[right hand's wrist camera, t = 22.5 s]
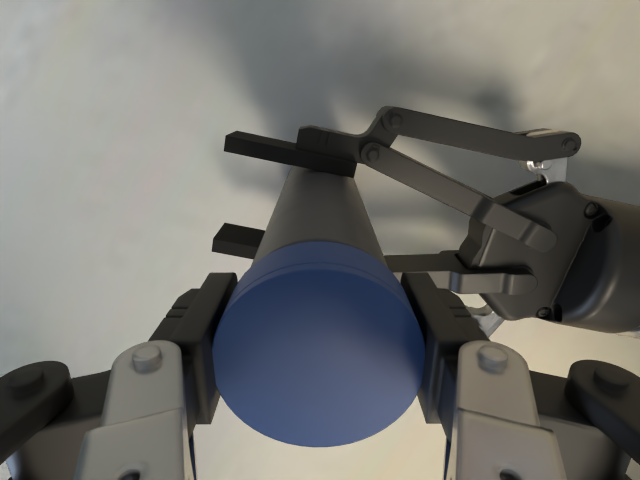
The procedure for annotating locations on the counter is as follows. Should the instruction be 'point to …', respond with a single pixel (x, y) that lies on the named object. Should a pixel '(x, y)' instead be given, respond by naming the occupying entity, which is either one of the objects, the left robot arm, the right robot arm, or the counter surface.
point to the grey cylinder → (319, 214)
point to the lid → (318, 346)
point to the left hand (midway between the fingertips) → (225, 190)
